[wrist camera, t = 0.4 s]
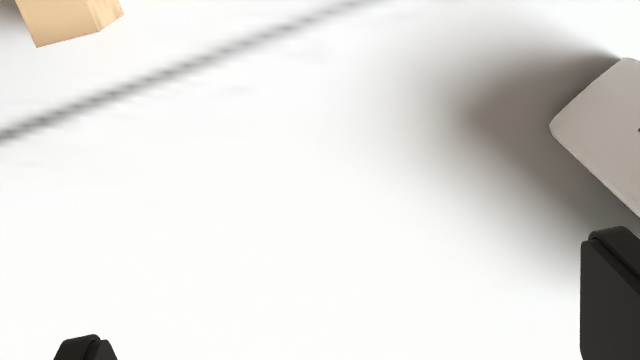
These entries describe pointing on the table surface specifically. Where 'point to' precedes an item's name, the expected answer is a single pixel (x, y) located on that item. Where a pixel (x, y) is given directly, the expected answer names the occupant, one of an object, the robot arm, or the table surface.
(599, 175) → the stereo radio cassette player
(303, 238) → the table surface
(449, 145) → the table surface
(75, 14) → the tan long bar
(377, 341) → the table surface
